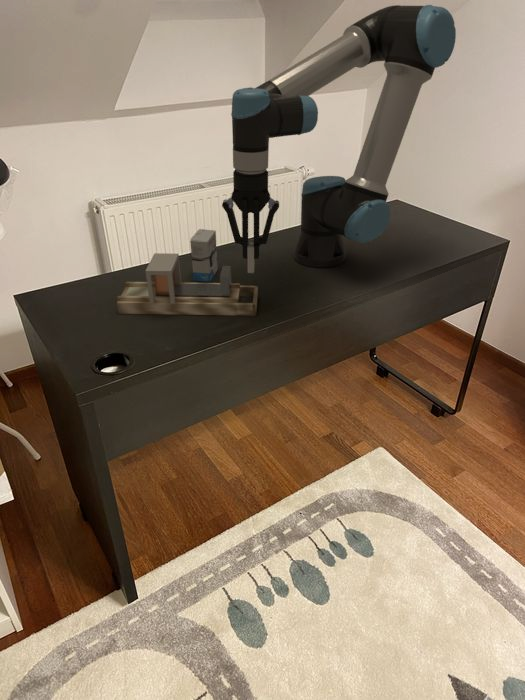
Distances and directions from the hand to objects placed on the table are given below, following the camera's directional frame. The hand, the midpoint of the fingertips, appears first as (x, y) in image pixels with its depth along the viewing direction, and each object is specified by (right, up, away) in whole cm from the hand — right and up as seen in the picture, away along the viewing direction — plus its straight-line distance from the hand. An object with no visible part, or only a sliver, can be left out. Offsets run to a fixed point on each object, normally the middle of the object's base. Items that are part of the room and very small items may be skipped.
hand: (251, 270), depth 125 cm
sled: (-14, -5, +4) cm, 16 cm away
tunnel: (-21, -5, +5) cm, 22 cm away
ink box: (-13, +2, +20) cm, 24 cm away
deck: (-15, -8, +6) cm, 18 cm away
